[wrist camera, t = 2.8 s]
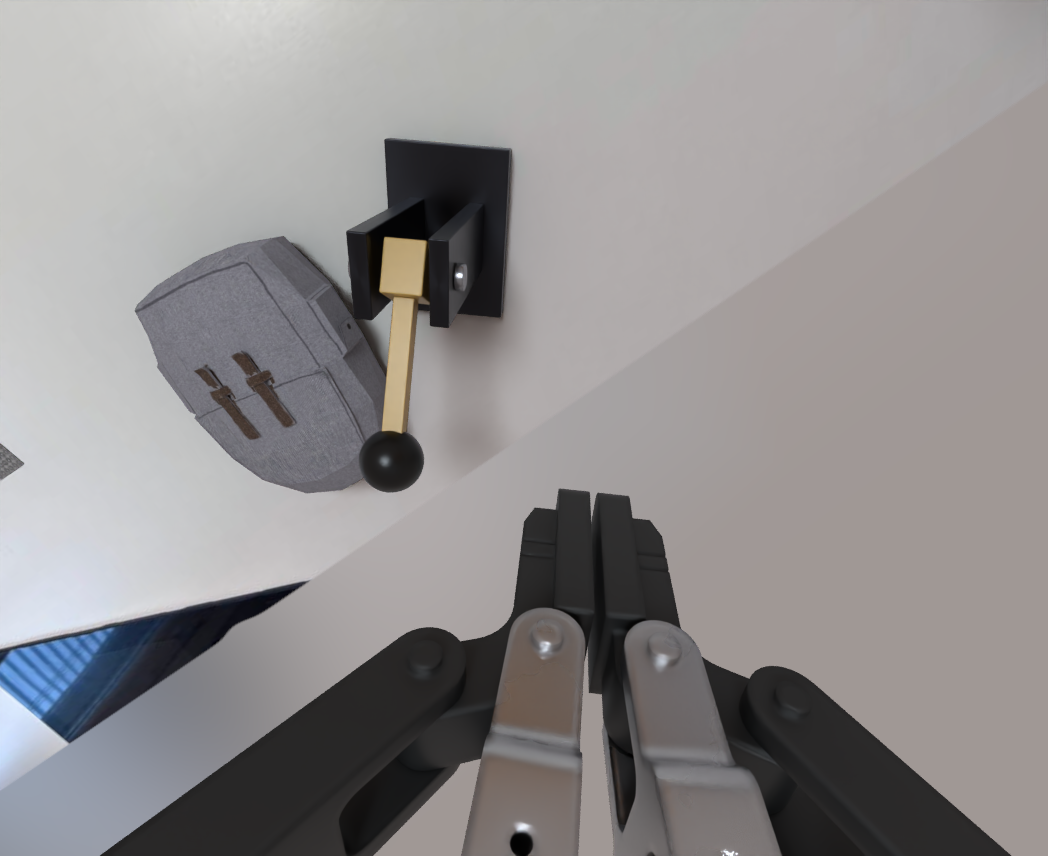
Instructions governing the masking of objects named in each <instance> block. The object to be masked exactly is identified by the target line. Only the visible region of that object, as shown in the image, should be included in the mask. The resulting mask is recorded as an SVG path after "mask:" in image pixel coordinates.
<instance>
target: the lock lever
mask: <svg viewBox="0 0 1048 856" xmlns="http://www.w3.org/2000/svg"><path fill="white" fill-rule="evenodd" d="M379 292H380V293H382V294H383V295H385V296H386V297H388V298H389V299H391V300H392V301H393V309H392V320H391V331H390V342H389V354H388V365H387V376H386V387H385V398H384V410H383V421H382V430H381V431H378V432H376V433H374V434H373V435H371V436H370V437H369V438H368V439H367V440H366V441H365V443H364V444H363V446H362V448H361V450H360V453H359V469H360V472H361V474H362V476H363V478H364V479H365V481H366V482H367V483H368V484H369V485H371V486H372V487H373V488H375V489H377V490H380V491H383V492H398V491H402V490H404V489H406V488H408V487H410V486H411V485H412V484H413V483H415V482H416V480H417V479H418V478H419V476H420V474H421V472H422V469H423V465H424V455H423V451H422V448H421V446H420V444H419V443H418V441H417V440H416V439H415V438H414V437H413V436H412V435H410V434H409V433H407V422H408V411H409V400H410V390H411V379H412V368H413V357H414V346H415V335H416V324H417V313H418V304H428V305H430V298H429V244H428V242H427V241H424V240H414V239H403V238H392V237H384V244H383V255H382V267H381V278H380V289H379Z"/></svg>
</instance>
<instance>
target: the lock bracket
mask: <svg viewBox="0 0 1048 856" xmlns="http://www.w3.org/2000/svg"><path fill="white" fill-rule="evenodd" d="M385 159H386V178H387V197H388V209H387V210H385V211H383V212H382V213H380V214H378V215H376V216H374V217H372V218H370V219H368V220H367V221H365V222H363V223H361V224H359V225H357V226H355V227H353V228H352V229H350V230H348V231H347V232H346V235H347V245H348V256H349V262H348V272H349V276H350V278H351V289H352V299H353V310H354V318H355V319H364V320H373V319H374V318H375V317H376V316H377V315H378V314H379V313H380V312H381V311H382V310H383V309H384V308H385V306H386V305H387V304H388V303H389V302H390V301H391V299H389V298H388V297H386V296H385V295H383V294H382V293H380V292H379V289H380V278H381V267H382V255H383V244H384V237H392V238H403V239H414V240H424V241H427V242H428V244H429V298H430V305H428V304H418V310H427V311H430V326H434V327H444V328H449V326H450V325H451V323H452V321H453V319H454V318H455V316H456V314H457V313H458V314H468V315H478V316H488V317H499V318H500V317H501V316H502V313H503V298H504V279H505V261H506V242H507V223H508V205H509V186H510V167H511V149H510V148H499V147H487V146H476V145H464V144H453V143H441V142H430V141H418V140H407V139H395V138H388V139H385Z"/></svg>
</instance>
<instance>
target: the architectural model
mask: <svg viewBox="0 0 1048 856" xmlns="http://www.w3.org/2000/svg"><path fill="white" fill-rule="evenodd" d="M22 465H23V463H22V462H21V461H20V460H19V459H17V458H16V457H15V456H14V455H13V454H11V453H10V452H9V451H8V450H7V449H5V448H4V447H3V446H2V445H1V444H0V480H1V479H3V478H4V477H6V476H7V475H9V474H10V473H12V472H13V471H14V470H16V469H17V468H19V467H20V466H22Z"/></svg>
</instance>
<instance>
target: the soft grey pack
mask: <svg viewBox="0 0 1048 856" xmlns="http://www.w3.org/2000/svg"><path fill="white" fill-rule="evenodd" d="M135 312H136V314H137V316H138V318H139V320H140V321H141V323H142V325H143V327H144V329H145V331H146V333H147V335H148V337H149V340H150V343H151V345H152V348H153V351H154V354H155V356H156V359H157V362H158V366H157V368H158V369H159V370H160V372H161V373H162V375H163V376H164V377H165V379H166V380H167V381H168V383H169V384H170V385H171V387H172V388H173V390H174V391H175V392H176V394H177V395H178V396H179V398H180V399H181V400H182V402H183V403H184V404H185V406H186V407H187V409H188V410H189V411H190V412H192V413H194V414H196V416H195V419H196V420H197V421H198V422H199V423H200V425H201V426H202V427H203V428H204V429H205V430H206V431H207V432H208V433H209V434H210V435H211V436H212V437H213V438H214V439H215V440H216V441H217V442H218V443H219V445H220V446H221V447H222V448H223V449H224V450H225V451H226V452H227V453H228V454H229V455H230V456H231V457H232V458H233V459H234V460H236V461H237V462H238V463H240V464H241V465H243V466H244V467H245V468H247V469H248V470H250V471H251V472H252V473H254V474H255V475H257V476H258V477H259V478H261V479H262V480H265V481H268V482H271V483H274V484H278V485H281V486H284V487H288V488H291V489H294V490H298V491H301V492H304V493H315V492H326V491H336V490H343V489H345V488H347V487H349V486H350V485H352V484H354V483H356V482H358V481H359V480H361V479H362V478H363V476H362V474H361V472H360V469H359V453H360V450H361V448H362V446H363V444H364V443H365V441H366V440H367V439H368V438H369V437H370V436H371V435H373V434H374V433H376V432H378V431H381V430H382V421H383V410H384V398H385V387H386V377H385V375H384V373H383V371H382V369H381V367H380V365H379V364H378V362H377V360H376V358H375V356H374V354H373V352H372V350H371V348H370V346H369V344H368V343H367V341H366V339H365V337H364V335H363V333H362V331H361V330H360V328H359V327H358V325H357V323H356V322H355V320H354V318H353V317H352V315H351V314H350V313H349V311H348V309H347V308H346V306H345V305H344V303H343V301H342V300H341V298H340V297H339V295H338V294H337V292H336V290H335V289H334V287H333V286H332V284H331V283H330V281H329V280H328V279H327V278H326V277H325V276H324V275H323V274H321V273H320V272H319V271H318V270H317V269H316V268H315V267H314V266H313V265H312V264H311V263H310V262H309V261H308V260H307V259H306V258H305V257H304V256H303V255H302V254H301V253H300V252H299V251H298V250H297V249H296V248H295V247H294V246H293V245H292V244H291V243H290V242H289V241H288V240H287V239H286V238H285V237H284V236H282V237H276V238H270V239H264V240H258V241H253V242H247V243H241V244H237V245H235V246H232V247H229V248H227V249H224V250H222V251H219V252H216V253H214V254H211V255H209V256H206V257H204V258H201V259H200V260H198V261H196V262H195V263H193V264H191V265H190V266H188V267H186V268H185V269H183V270H181V271H180V272H178V273H176V274H175V275H173V276H171V277H170V278H168V279H167V280H165V281H164V282H162V283H160V284H159V285H157V286H156V287H155V288H154V289H153V290H152V291H151V292H150V293H149V294H148V295H147V296H146V297H145V298H144V299H143V300H142V301H141V302H140V303H139V304H138V305H137V306H136V309H135Z"/></svg>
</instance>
